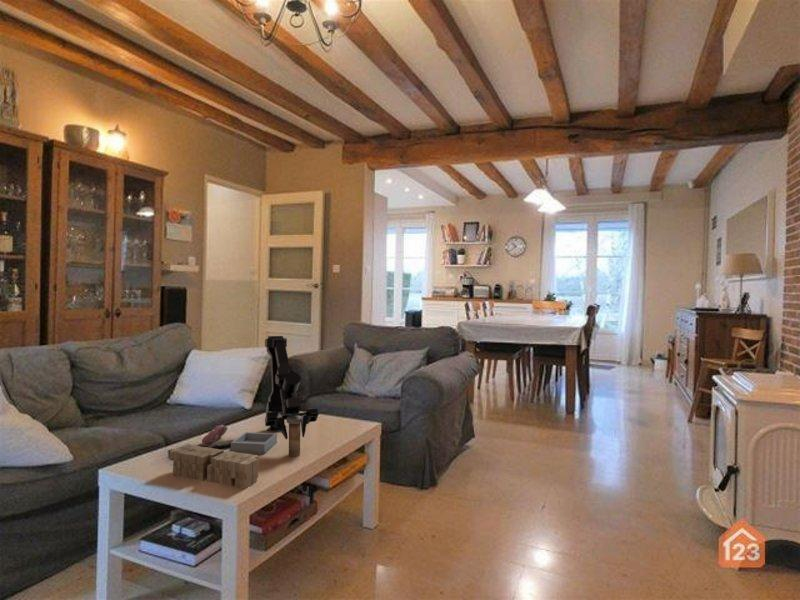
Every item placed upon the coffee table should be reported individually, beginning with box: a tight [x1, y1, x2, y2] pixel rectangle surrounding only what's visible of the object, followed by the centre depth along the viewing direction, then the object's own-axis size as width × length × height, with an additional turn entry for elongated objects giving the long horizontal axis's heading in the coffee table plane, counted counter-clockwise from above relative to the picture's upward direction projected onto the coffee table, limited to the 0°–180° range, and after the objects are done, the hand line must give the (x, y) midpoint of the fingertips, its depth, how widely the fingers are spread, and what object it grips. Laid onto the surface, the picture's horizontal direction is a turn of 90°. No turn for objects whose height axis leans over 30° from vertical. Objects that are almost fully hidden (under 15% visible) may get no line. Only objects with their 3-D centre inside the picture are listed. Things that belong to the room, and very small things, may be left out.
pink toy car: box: [201, 424, 228, 444], centre depth 186 cm, size 10×5×7 cm, turn 169°
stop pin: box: [286, 415, 303, 458], centre depth 172 cm, size 6×6×14 cm
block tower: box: [169, 443, 260, 489], centre depth 151 cm, size 8×8×29 cm
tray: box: [230, 431, 278, 455], centre depth 179 cm, size 13×13×4 cm
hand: (295, 437), depth 171 cm, fingers open, 6 cm apart
